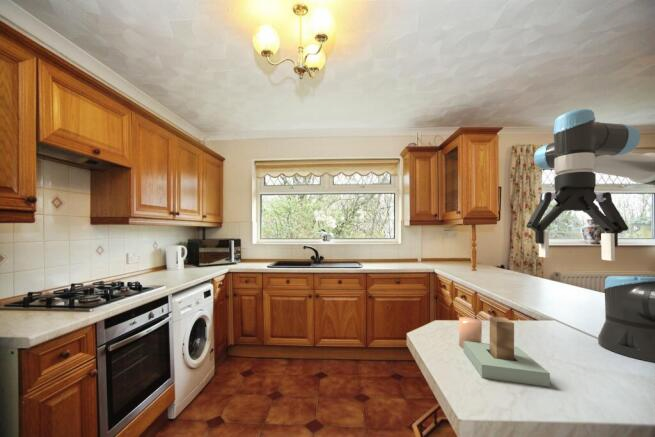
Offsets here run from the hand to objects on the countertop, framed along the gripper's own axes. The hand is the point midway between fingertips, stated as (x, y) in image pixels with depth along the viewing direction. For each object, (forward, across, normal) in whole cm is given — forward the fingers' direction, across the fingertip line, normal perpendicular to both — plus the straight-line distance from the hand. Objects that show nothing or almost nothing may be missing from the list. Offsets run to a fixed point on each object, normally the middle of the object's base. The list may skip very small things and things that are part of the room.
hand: (575, 258), depth 65 cm
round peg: (+29, +20, -12) cm, 37 cm away
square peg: (+29, +16, -1) cm, 33 cm away
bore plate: (+29, +16, -1) cm, 33 cm away
